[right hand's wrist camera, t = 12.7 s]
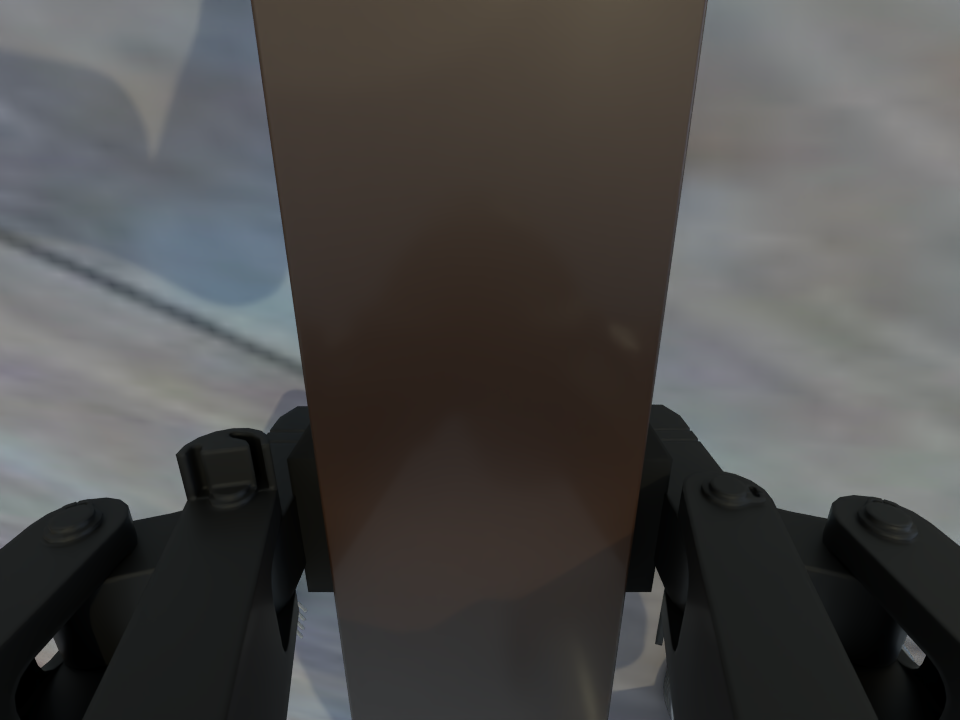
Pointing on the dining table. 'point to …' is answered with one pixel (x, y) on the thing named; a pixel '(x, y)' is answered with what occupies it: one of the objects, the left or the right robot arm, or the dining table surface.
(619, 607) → the walnut beam
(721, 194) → the dining table surface
